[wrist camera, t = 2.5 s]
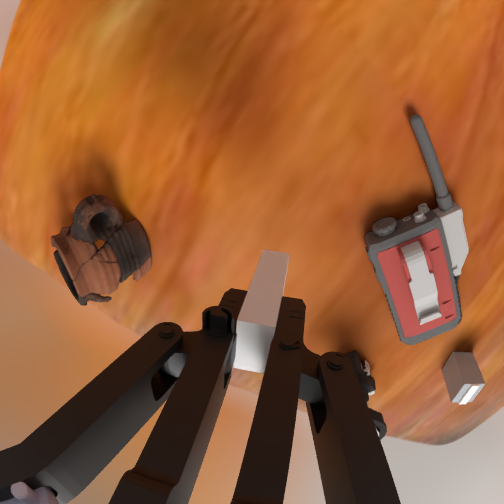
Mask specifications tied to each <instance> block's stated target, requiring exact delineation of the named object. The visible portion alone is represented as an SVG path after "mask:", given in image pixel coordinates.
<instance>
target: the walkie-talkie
mask: <svg viewBox="0 0 504 504" xmlns="http://www.w3.org/2000/svg"><path fill="white" fill-rule="evenodd" d="M410 124H411V126H412V128H413V131H414V133H415V136H416V138H417V141H418V143H419V146H420V148H421V151H422V154H423V156H424V159H425V162H426V165H427V167H428V170H429V173H430V176H431V179H432V182H433V185H434V188H435V192H436V195H437V196H436V200H437V203H438V208H436V209H434V210H431V209H430V208H429V207H428V206H427V204H426V203H422V204H420V205H419V206H418V209H419V210H418V212H416V213H414V214H412V215H409V216H407V217H405V218H402V219H400V220H397V221H396V220H395V218H392V217H386V218H382V219H380V220H378V221H377V222H376V223H374V225H373V227H372V230H373V231H371V232H369V233H366V237H365V241H366V245H367V247H365V248H366V251H367V254H368V256H369V259H370V262H372V263H373V264H374V271H375V275H376V277H377V280H378V282H379V281H380V282H381V285H382V288H383V291H384V293H385V296H386V299H387V302H388V304H389V308H390V310H391V313H392V316H393V319H394V322H395V326H396V329H397V332H398V335H399V338H400V341H401V342H403V343H406V344H408V345H414V344H417V343H419V342H422V341H424V340H427V339H430V338H432V337H435V336H437V335H439V334H442V333H444V332H447V331H449V330H451V329H453V328H455V327H456V325H458V324H459V323H460V321H461V318H462V312H461V305H460V298H459V292H458V285H457V282H458V279H459V274H461V269H462V266H463V264H464V261H465V259H466V256H467V254H468V251H469V248H468V242H467V237H466V233H465V228H464V223H463V212H462V208H461V207H460V206H459V205H458V204H456V203H455V202H453V201H452V198H451V195H450V193H449V192H448V190H447V187H446V183H445V180H444V177H443V174H442V171H441V168H440V165H439V162H438V159H437V156H436V153H435V151H434V148H433V145H432V142H431V140H430V137H429V135H428V132H427V130H426V127H425V125H424V122H423V120H422V118H421V116H419V115H417V114H415V115H412V116H411V117H410Z"/></svg>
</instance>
